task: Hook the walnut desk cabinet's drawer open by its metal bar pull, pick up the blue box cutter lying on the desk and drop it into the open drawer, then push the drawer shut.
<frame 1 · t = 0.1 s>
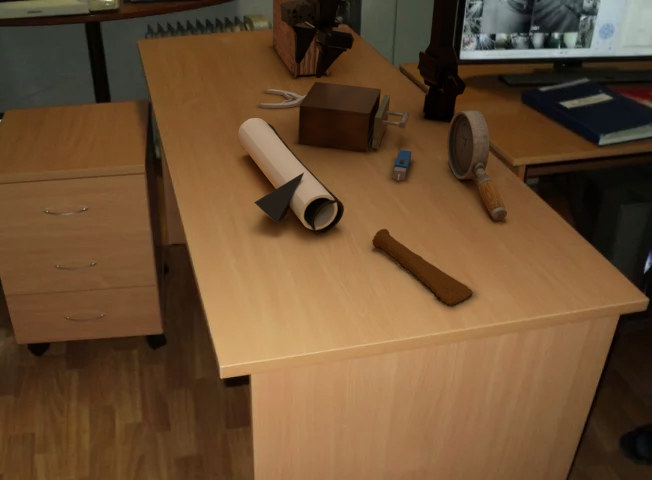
hand: (307, 70, 147), 15 cm above the table, tool pointing down, fingers open, 9 cm apart
box cutter: (401, 171, 145), on the table
primitive tool: (420, 273, 117), on the table
pliers: (294, 102, 174), on the table
magnifying glass: (473, 190, 140), on the table
diploma: (271, 194, 138), on the table
book: (299, 61, 197), on the table
cabinet: (338, 134, 159), on the table
drawer: (363, 118, 155), point 4 cm above the table, slide at 1.0 cm
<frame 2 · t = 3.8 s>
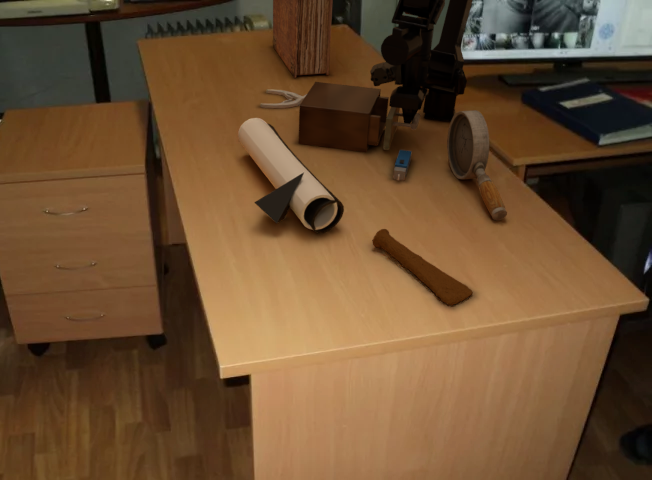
hand: (406, 125, 154), 4 cm above the table, tool pointing down, fingers closed, pressing on drawer
drawer: (374, 120, 155), point 4 cm above the table, slide at 3.3 cm, touching gripper
everything else where it was.
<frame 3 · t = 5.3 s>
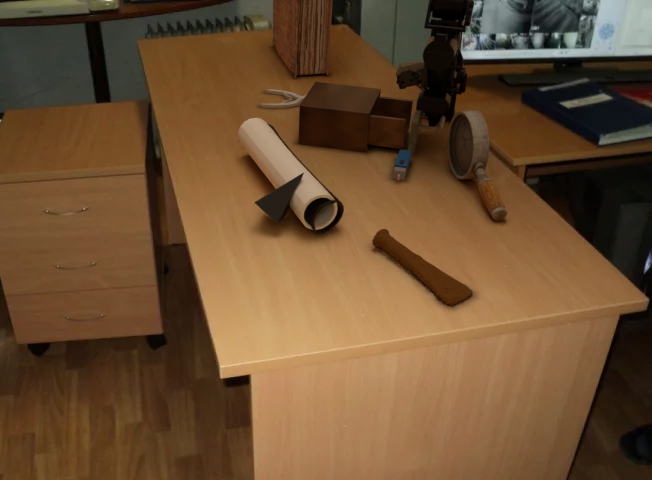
hand: (431, 128, 153), 4 cm above the table, tool pointing down, fingers closed, pressing on drawer
drawer: (399, 123, 154), point 4 cm above the table, slide at 8.5 cm, touching gripper
everything else where it was.
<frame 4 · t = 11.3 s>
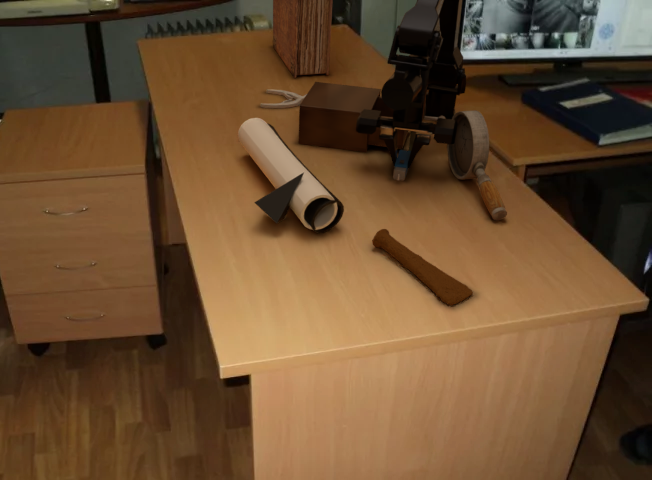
hand: (401, 166, 145), 1 cm above the table, tool pointing down, fingers closed on box cutter, 2 cm apart
box cutter: (401, 171, 145), on the table, touching gripper
drawer: (399, 123, 154), point 4 cm above the table, slide at 8.5 cm
everything else where it was.
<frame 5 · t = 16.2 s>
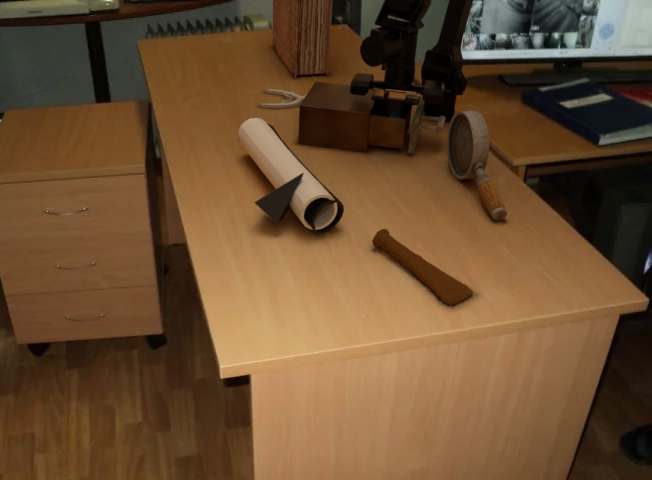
hand: (393, 127, 155), 3 cm above the table, tool pointing down, fingers closed on box cutter, 2 cm apart
box cutter: (392, 131, 155), point 2 cm above the table, touching gripper
everything else where it was.
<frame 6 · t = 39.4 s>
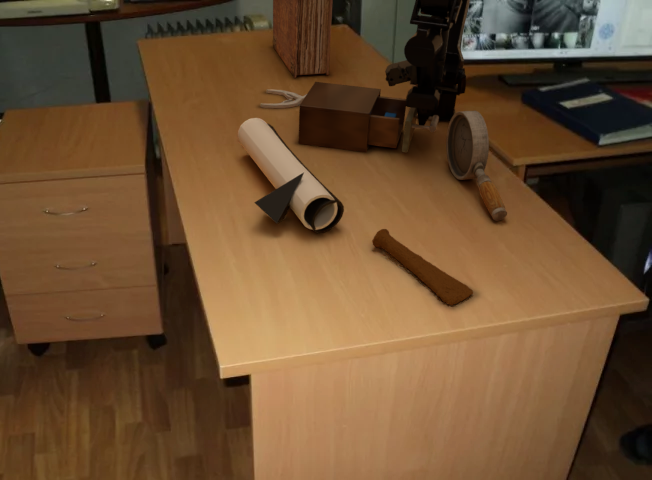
hand: (421, 125, 153), 4 cm above the table, tool pointing down, fingers closed
box cutter: (387, 131, 156), point 2 cm above the table, touching drawer
drawer: (393, 122, 154), point 4 cm above the table, slide at 7.2 cm, touching box cutter, gripper
everything else where it was.
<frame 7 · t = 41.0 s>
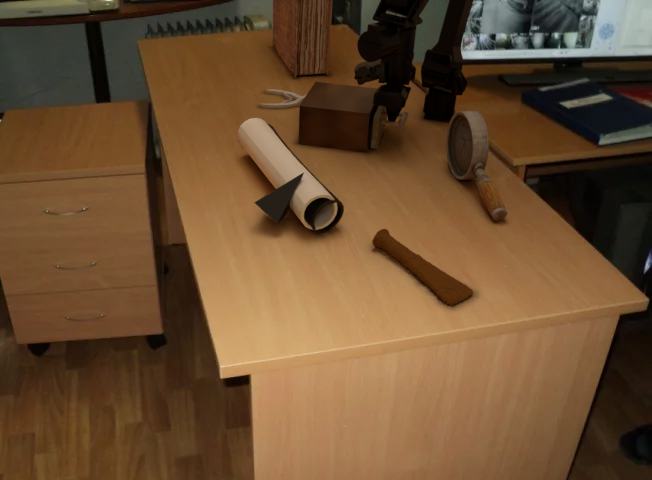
hand: (391, 123, 154), 4 cm above the table, tool pointing down, fingers closed, pressing on drawer
box cutter: (357, 128, 157), point 2 cm above the table, touching drawer
drawer: (362, 118, 156), point 4 cm above the table, slide at 0.8 cm, touching box cutter, gripper
everything else where it was.
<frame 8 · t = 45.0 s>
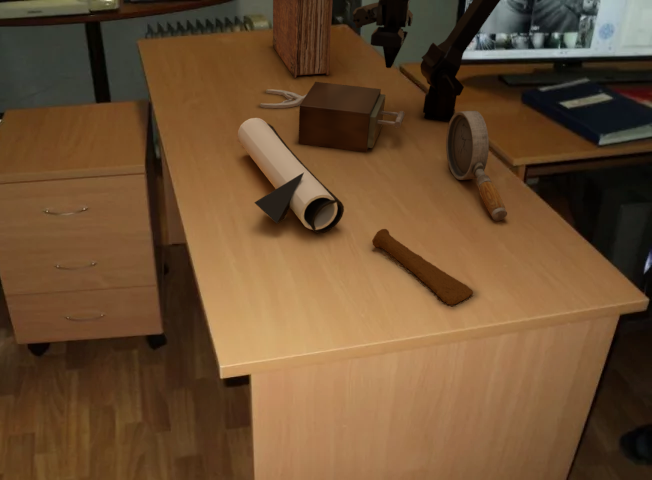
hand: (388, 67, 159), 12 cm above the table, tool pointing down, fingers closed
drawer: (359, 118, 156), point 4 cm above the table, slide at 0.0 cm, touching box cutter, cabinet
everything else where it was.
at the end: drawer pulled out 8.5 cm at the most during the clip, back to where it started at the end; box cutter inside the target area in the cabinet (3.1 cm from its centre), point 2.0 cm above the cabinet's base; drawer slide at 0.0 cm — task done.
